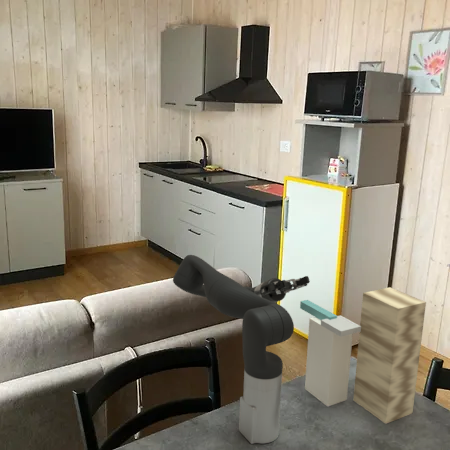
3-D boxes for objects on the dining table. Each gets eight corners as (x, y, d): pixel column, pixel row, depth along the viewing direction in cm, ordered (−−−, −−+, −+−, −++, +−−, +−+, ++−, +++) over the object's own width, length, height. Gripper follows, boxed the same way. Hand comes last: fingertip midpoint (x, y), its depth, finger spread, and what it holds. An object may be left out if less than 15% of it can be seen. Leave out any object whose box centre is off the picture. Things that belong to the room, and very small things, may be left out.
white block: (327, 406, 137) (333, 332, 132) (304, 388, 145) (309, 318, 140) (346, 400, 140) (353, 327, 135) (323, 382, 149) (328, 314, 144)
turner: (340, 336, 130) (341, 328, 129) (294, 309, 146) (294, 302, 146) (360, 331, 133) (361, 323, 132) (312, 305, 150) (313, 298, 149)
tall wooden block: (385, 423, 130) (398, 308, 123) (353, 400, 140) (363, 292, 133) (412, 413, 135) (426, 302, 128) (379, 391, 145) (390, 287, 138)
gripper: (248, 284, 161) (274, 272, 148) (284, 278, 168) (312, 266, 154) (253, 306, 160) (280, 297, 146) (290, 299, 166) (318, 289, 153)
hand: (296, 281), depth 150 cm, fingers open, 8 cm apart
